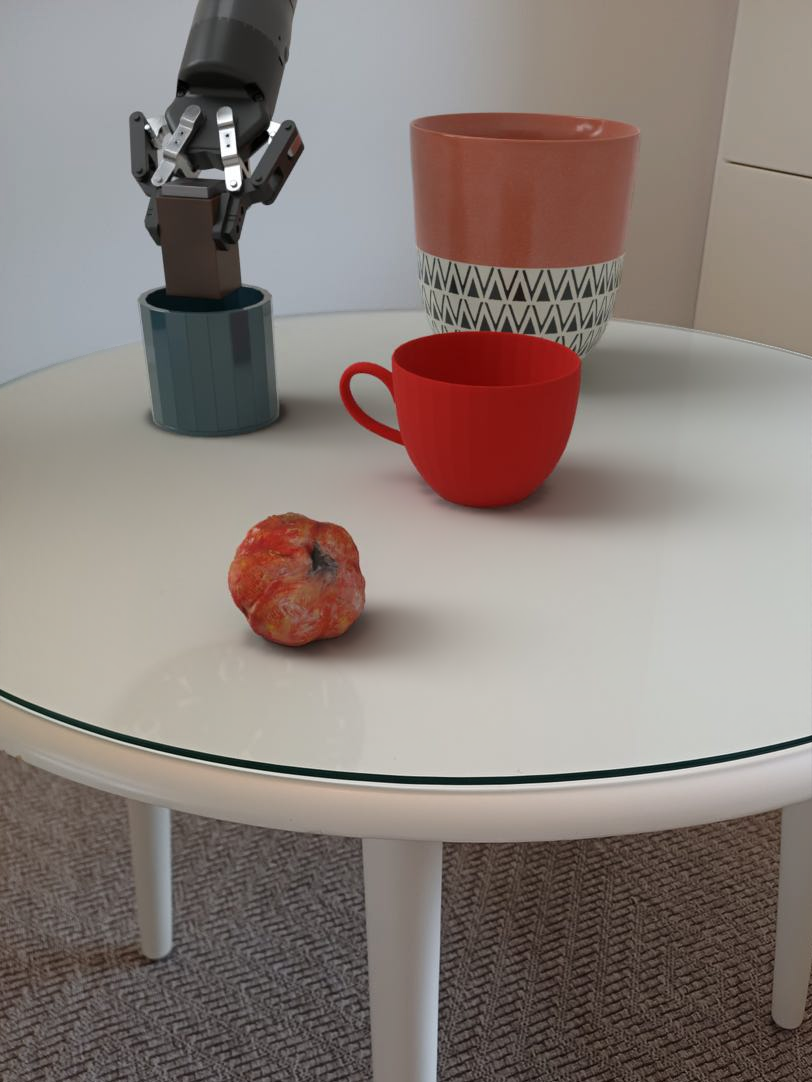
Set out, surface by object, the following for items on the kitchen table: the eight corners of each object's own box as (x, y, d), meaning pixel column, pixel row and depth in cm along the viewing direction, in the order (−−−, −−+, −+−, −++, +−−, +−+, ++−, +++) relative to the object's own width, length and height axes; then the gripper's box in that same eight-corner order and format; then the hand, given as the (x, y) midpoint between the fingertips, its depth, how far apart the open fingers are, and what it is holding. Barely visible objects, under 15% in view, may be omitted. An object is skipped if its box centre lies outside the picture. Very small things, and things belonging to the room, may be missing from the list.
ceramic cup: (366, 448, 88) (363, 320, 83) (580, 468, 86) (590, 338, 81) (317, 515, 77) (309, 373, 72) (561, 540, 75) (571, 394, 70)
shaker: (166, 295, 86) (153, 184, 82) (190, 282, 90) (179, 175, 86) (220, 300, 86) (209, 188, 81) (242, 286, 89) (233, 179, 85)
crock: (143, 441, 88) (126, 313, 83) (164, 398, 97) (150, 280, 92) (274, 441, 89) (265, 314, 84) (284, 399, 98) (276, 281, 93)
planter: (470, 334, 117) (474, 107, 106) (648, 364, 109) (673, 123, 98) (371, 386, 101) (365, 127, 91) (570, 424, 94) (589, 147, 83)
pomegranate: (220, 663, 65) (252, 637, 56) (208, 539, 66) (237, 494, 57) (344, 653, 68) (394, 627, 59) (331, 534, 69) (378, 490, 59)
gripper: (132, 10, 86) (77, 205, 82) (311, 16, 83) (263, 218, 79) (171, 81, 93) (122, 264, 89) (336, 90, 90) (294, 278, 87)
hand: (189, 241), depth 84 cm, fingers closed on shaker, 4 cm apart
